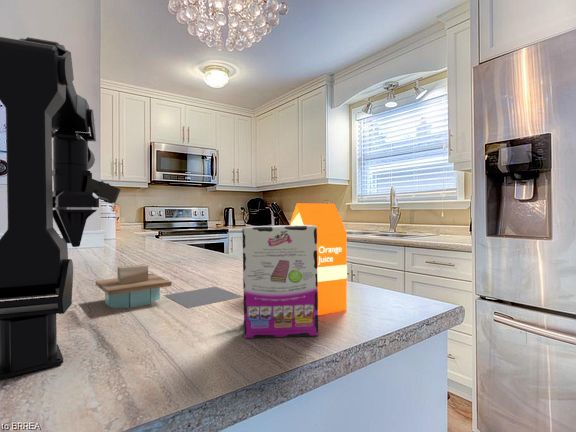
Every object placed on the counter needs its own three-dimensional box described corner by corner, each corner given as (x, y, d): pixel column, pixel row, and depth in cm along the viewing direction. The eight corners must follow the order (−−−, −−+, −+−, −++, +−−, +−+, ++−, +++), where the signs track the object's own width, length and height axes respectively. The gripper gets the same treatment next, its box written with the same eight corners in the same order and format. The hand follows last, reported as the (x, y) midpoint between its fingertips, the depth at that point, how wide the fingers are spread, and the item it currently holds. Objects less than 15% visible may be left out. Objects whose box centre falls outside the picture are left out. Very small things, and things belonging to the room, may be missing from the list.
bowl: (165, 306, 64) (164, 285, 64) (113, 316, 58) (113, 293, 58) (149, 296, 71) (149, 278, 71) (101, 304, 65) (101, 284, 65)
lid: (171, 285, 64) (171, 266, 64) (108, 295, 57) (108, 273, 57) (152, 277, 73) (152, 260, 73) (95, 284, 65) (95, 265, 65)
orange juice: (286, 306, 64) (286, 203, 64) (324, 300, 68) (324, 204, 68) (307, 317, 57) (306, 202, 57) (347, 310, 61) (347, 203, 61)
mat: (243, 301, 68) (243, 296, 68) (187, 313, 60) (187, 308, 60) (215, 290, 77) (215, 286, 77) (163, 300, 69) (163, 295, 69)
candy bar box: (314, 325, 54) (313, 224, 53) (319, 337, 49) (318, 225, 48) (244, 327, 53) (244, 224, 53) (242, 339, 48) (242, 226, 48)
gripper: (128, 164, 63) (129, 245, 63) (105, 172, 77) (106, 239, 77) (57, 158, 56) (59, 250, 56) (47, 169, 70) (48, 242, 70)
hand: (72, 244), depth 65 cm, fingers open, 9 cm apart
